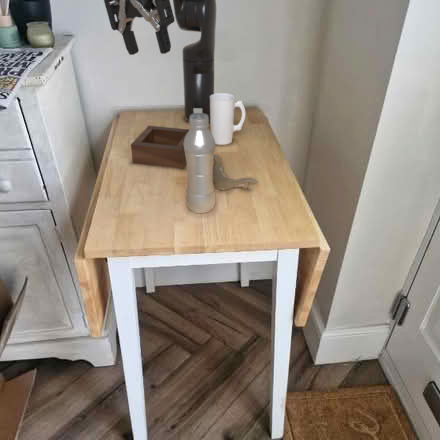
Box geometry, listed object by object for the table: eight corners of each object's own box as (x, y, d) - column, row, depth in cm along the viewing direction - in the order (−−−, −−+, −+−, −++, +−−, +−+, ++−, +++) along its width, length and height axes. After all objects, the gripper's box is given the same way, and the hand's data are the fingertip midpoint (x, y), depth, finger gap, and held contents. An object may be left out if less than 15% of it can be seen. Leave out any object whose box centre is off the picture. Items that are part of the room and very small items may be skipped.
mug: (211, 146, 120) (211, 101, 112) (208, 136, 125) (208, 93, 117) (246, 144, 121) (249, 100, 113) (241, 135, 126) (243, 92, 118)
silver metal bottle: (192, 219, 91) (189, 124, 78) (181, 204, 95) (177, 112, 82) (220, 213, 93) (221, 119, 80) (208, 199, 97) (207, 108, 84)
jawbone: (226, 200, 98) (226, 192, 97) (186, 166, 112) (186, 159, 110) (259, 188, 101) (259, 180, 100) (216, 157, 115) (216, 149, 113)
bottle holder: (150, 143, 121) (148, 125, 118) (196, 148, 119) (196, 130, 116) (133, 163, 111) (130, 144, 108) (183, 168, 109) (182, 149, 106)
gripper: (166, -65, 70) (189, 45, 80) (108, -52, 77) (136, 47, 88) (135, -56, 66) (164, 59, 76) (77, -43, 73) (111, 60, 84)
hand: (149, 53), depth 82 cm, fingers open, 8 cm apart
